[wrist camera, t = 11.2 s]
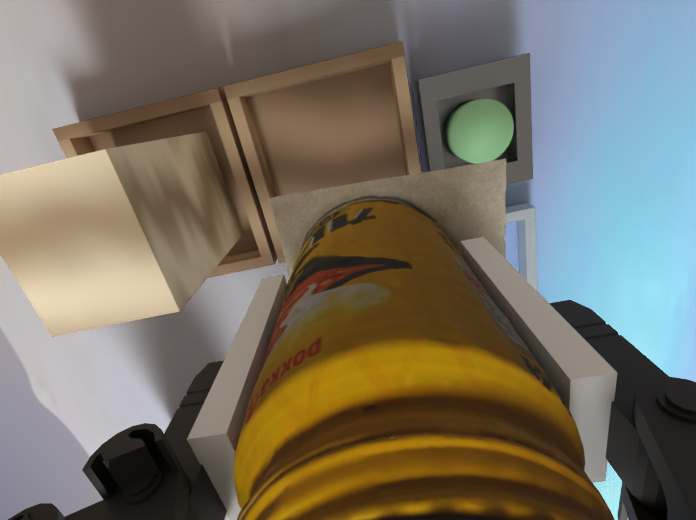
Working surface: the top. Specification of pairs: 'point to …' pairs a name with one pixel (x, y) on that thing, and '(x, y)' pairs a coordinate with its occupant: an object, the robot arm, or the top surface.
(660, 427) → the robot arm
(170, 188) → the block
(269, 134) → the brown divided tray
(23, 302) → the top surface
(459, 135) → the button
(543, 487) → the condiment
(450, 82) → the button housing
